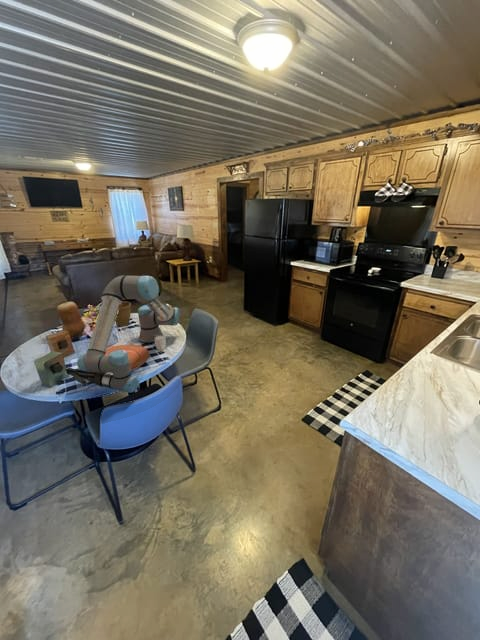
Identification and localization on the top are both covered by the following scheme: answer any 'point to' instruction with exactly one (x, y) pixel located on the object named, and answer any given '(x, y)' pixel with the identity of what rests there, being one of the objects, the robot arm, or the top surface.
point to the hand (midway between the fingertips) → (67, 370)
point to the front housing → (45, 366)
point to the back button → (63, 344)
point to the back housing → (56, 338)
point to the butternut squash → (71, 319)
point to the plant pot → (124, 314)
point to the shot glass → (160, 342)
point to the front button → (57, 368)
